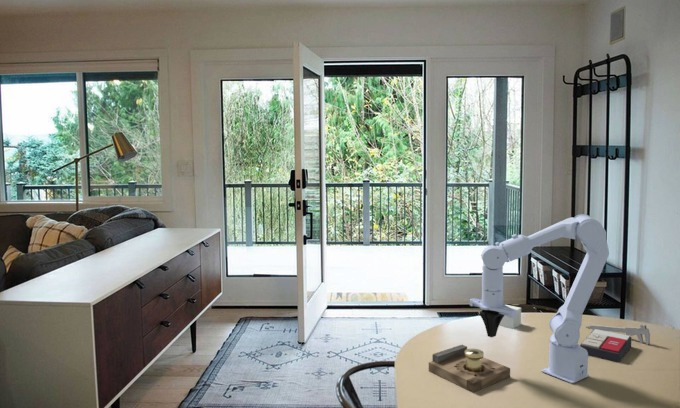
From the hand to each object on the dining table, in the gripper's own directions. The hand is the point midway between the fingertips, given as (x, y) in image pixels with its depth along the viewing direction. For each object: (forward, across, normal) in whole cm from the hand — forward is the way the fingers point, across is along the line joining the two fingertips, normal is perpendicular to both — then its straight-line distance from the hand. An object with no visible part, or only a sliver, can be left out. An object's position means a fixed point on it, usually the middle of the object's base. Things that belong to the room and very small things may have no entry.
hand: (491, 336), depth 150 cm
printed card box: (+10, +13, +38) cm, 41 cm away
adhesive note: (+10, -20, +34) cm, 40 cm away
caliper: (+10, +8, +53) cm, 54 cm away
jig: (+9, -1, -8) cm, 12 cm away
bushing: (+9, +1, -8) cm, 13 cm away
